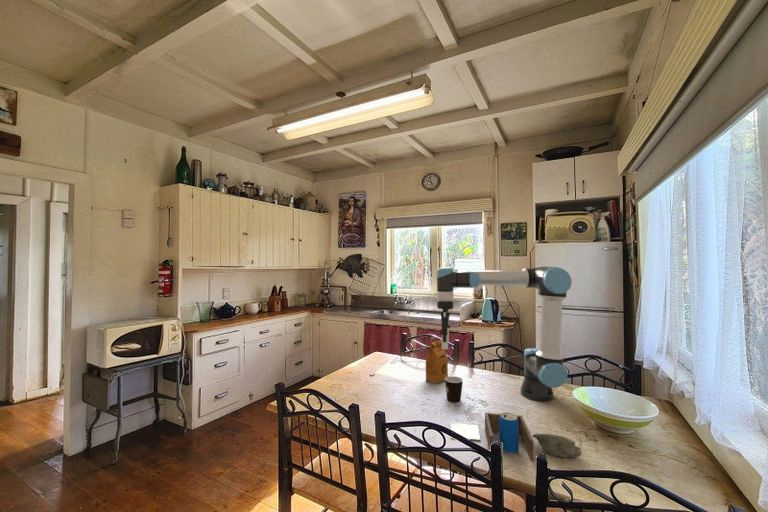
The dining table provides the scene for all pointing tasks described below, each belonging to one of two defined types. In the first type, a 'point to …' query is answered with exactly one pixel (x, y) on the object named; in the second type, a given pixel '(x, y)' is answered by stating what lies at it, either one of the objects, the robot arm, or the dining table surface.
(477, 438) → the white flat square slab
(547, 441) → the fossil
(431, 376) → the coffee package
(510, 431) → the beverage can
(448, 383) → the coffee mug
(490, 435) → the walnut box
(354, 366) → the dining table surface
